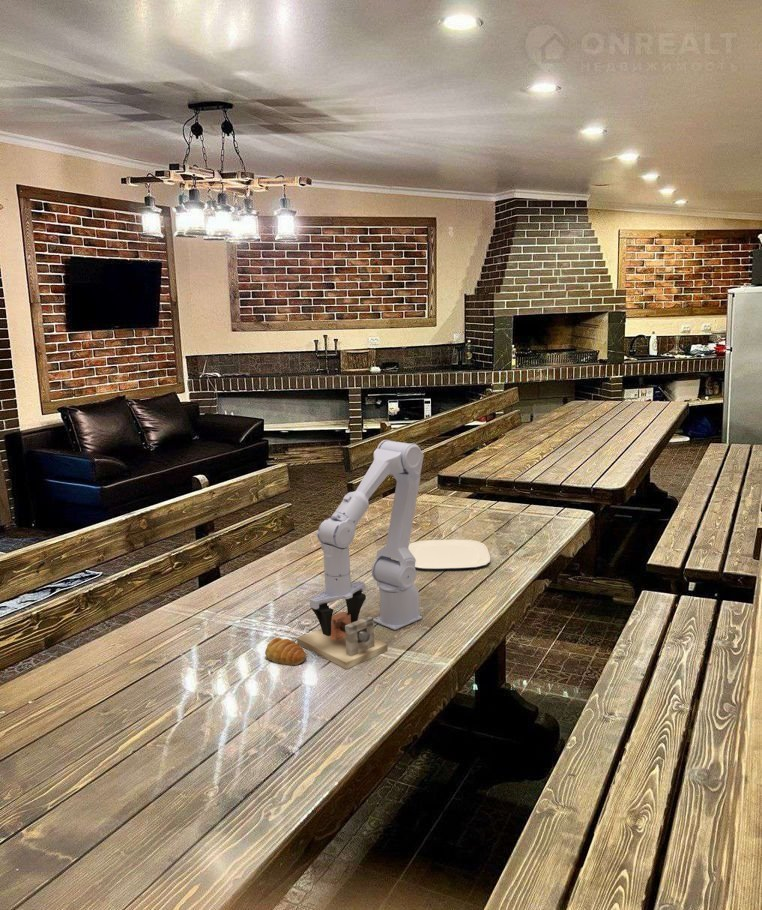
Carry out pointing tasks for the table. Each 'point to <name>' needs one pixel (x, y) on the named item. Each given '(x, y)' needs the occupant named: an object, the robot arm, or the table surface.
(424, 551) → the plate
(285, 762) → the table surface
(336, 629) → the bolt
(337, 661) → the latch board
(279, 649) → the pastry
